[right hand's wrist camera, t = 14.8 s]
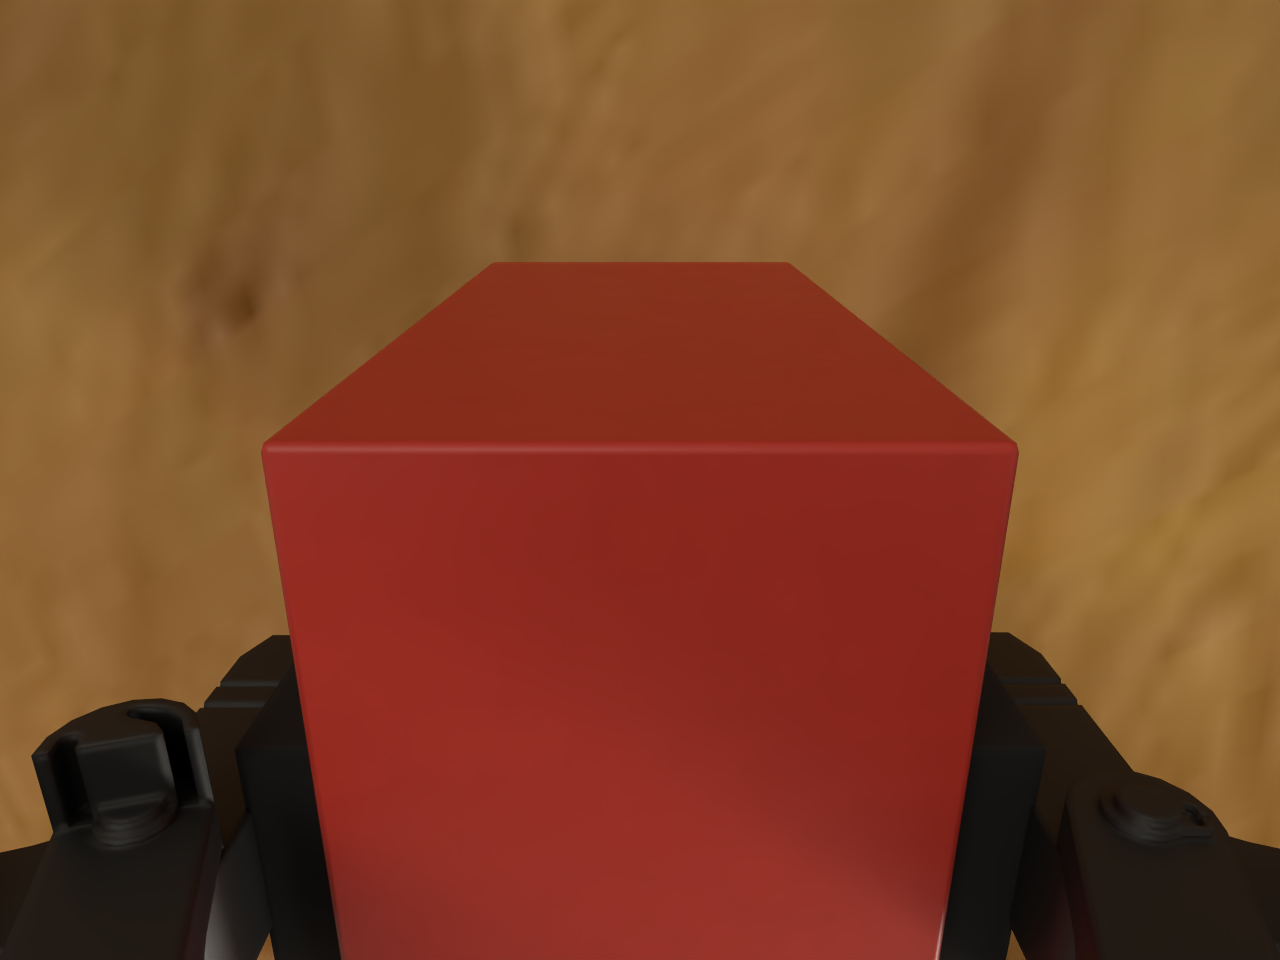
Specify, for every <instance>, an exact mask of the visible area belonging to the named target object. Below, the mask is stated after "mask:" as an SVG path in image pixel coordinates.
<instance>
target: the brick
mask: <svg viewBox="0 0 1280 960" xmlns="http://www.w3.org/2000/svg"><path fill="white" fill-rule="evenodd" d="M261 455H262V462H263V468H264V474H265V481H266V487H267V493H268V500H269V506H270V512H271V518H272V525H273V531H274V537H275V544H276V550H277V556H278V563H279V569H280V575H281V582H282V588H283V594H284V601H285V607H286V613H287V620H288V626H289V632H290V639H291V645H292V651H293V658H294V664H295V670H296V677H297V683H298V689H299V696H300V702H301V708H302V715H303V721H304V727H305V734H306V740H307V746H308V752H309V759H310V765H311V771H312V778H313V784H314V790H315V797H316V803H317V809H318V816H319V822H320V828H321V835H322V841H323V847H324V854H325V860H326V866H327V873H328V879H329V885H330V892H331V898H332V904H333V911H334V917H335V923H336V930H337V936H338V942H339V949H340V955H341V960H939V957H940V950H941V944H942V938H943V931H944V925H945V919H946V912H947V906H948V900H949V893H950V887H951V881H952V874H953V868H954V862H955V855H956V849H957V843H958V836H959V830H960V823H961V817H962V811H963V804H964V798H965V792H966V785H967V779H968V773H969V766H970V760H971V754H972V747H973V741H974V735H975V728H976V722H977V715H978V709H979V703H980V696H981V690H982V684H983V677H984V671H985V665H986V658H987V652H988V646H989V639H990V633H991V627H992V620H993V614H994V608H995V601H996V595H997V588H998V582H999V576H1000V569H1001V563H1002V557H1003V550H1004V544H1005V538H1006V531H1007V525H1008V519H1009V512H1010V506H1011V500H1012V493H1013V487H1014V480H1015V474H1016V468H1017V461H1018V455H1019V451H1018V447H1017V444H1016V443H1015V442H1014V441H1013V440H1012V439H1010V438H1009V437H1008V436H1007V435H1005V434H1004V433H1003V432H1002V431H1000V430H999V429H998V428H996V427H995V426H994V425H993V424H991V423H990V422H989V421H988V420H986V419H985V418H984V417H983V416H981V415H980V414H979V413H978V412H976V411H975V410H974V409H973V408H971V407H970V406H969V405H967V404H966V403H965V402H964V401H962V400H961V399H960V398H959V397H957V396H956V395H955V394H954V393H952V392H951V391H950V390H949V389H947V388H946V387H945V386H944V385H942V384H941V383H940V382H939V381H937V380H936V379H935V378H933V377H932V376H931V375H930V374H928V373H927V372H926V371H925V370H923V369H922V368H921V367H920V366H918V365H917V364H916V363H915V362H913V361H912V360H911V359H910V358H908V357H907V356H906V355H904V354H903V353H902V352H901V351H899V350H898V349H897V348H896V347H894V346H893V345H892V344H891V343H889V342H888V341H887V340H886V339H884V338H883V337H882V336H881V335H879V334H878V333H877V332H875V331H874V330H873V329H872V328H870V327H869V326H868V325H867V324H865V323H864V322H863V321H862V320H860V319H859V318H858V317H857V316H855V315H854V314H853V313H852V312H850V311H849V310H848V309H847V308H845V307H844V306H843V305H841V304H840V303H839V302H838V301H836V300H835V299H834V298H833V297H831V296H830V295H829V294H828V293H826V292H825V291H824V290H823V289H821V288H820V287H819V286H818V285H816V284H815V283H814V282H812V281H811V280H810V279H809V278H807V277H806V276H805V275H804V274H802V273H801V272H800V271H799V270H797V269H796V268H795V267H794V266H792V265H791V264H789V263H787V262H495V263H492V264H491V265H489V266H488V267H487V268H485V269H484V270H483V271H482V272H480V273H479V274H478V275H477V276H475V277H474V278H473V279H471V280H470V281H469V282H468V283H466V284H465V285H464V286H463V287H461V288H460V289H459V290H457V291H456V292H455V293H454V294H452V295H451V296H450V297H449V298H447V299H446V300H445V301H444V302H442V303H441V304H440V305H438V306H437V307H436V308H435V309H433V310H432V311H431V312H430V313H428V314H427V315H426V316H424V317H423V318H422V319H421V320H419V321H418V322H417V323H416V324H414V325H413V326H412V327H410V328H409V329H408V330H407V331H405V332H404V333H403V334H402V335H400V336H399V337H398V338H397V339H395V340H394V341H393V342H391V343H390V344H389V345H388V346H386V347H385V348H384V349H383V350H381V351H380V352H379V353H377V354H376V355H375V356H374V357H372V358H371V359H370V360H369V361H367V362H366V363H365V364H364V365H362V366H361V367H360V368H358V369H357V370H356V371H355V372H353V373H352V374H351V375H350V376H348V377H347V378H346V379H344V380H343V381H342V382H341V383H339V384H338V385H337V386H336V387H334V388H333V389H332V390H330V391H329V392H328V393H327V394H325V395H324V396H323V397H322V398H320V399H319V400H318V401H317V402H315V403H314V404H313V405H311V406H310V407H309V408H308V409H306V410H305V411H304V412H303V413H301V414H300V415H299V416H297V417H296V418H295V419H294V420H292V421H291V422H290V423H289V424H287V425H286V426H285V427H283V428H282V429H281V430H280V431H278V432H277V433H276V434H275V435H273V436H272V437H271V438H270V439H268V440H267V441H266V442H264V443H263V447H262V451H261Z"/></svg>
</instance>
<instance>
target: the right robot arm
mask: <svg viewBox="0 0 1280 960" xmlns="http://www.w3.org/2000/svg"><path fill="white" fill-rule="evenodd" d="M220 683H221V684H220V687H216V688H215V690H214V691H213V692H212V693H211V695H210V696H209V697H208V698H207V700H206V701H205V702H204V708H200V709H199V710H198V711H197V713H196V712H195V711H193V710H192V709H191V708H190V707H188V706H187V705H186V704H184V703H182V702H177V701H172V700H167V699H162V698H159V699H141V700H131V701H127V702H123V703H119V704H114V705H110V706H106V707H102V708H100V709H97V710H95V711H93V712H90V713H88V714H86V715H83V716H81V717H79V718H76V719H74V720H72V721H70V722H69V723H67V724H66V725H64V726H63V727H61V728H60V729H58V730H57V731H55V732H54V733H52V734H51V735H49V736H48V737H47V738H46V739H45V740H44V741H43V742H42V744H41V745H40V746H39V747H38V748H37V750H36V751H35V752H34V753H33V754H32V755H31V757H32V760H33V764H34V767H35V771H36V774H37V777H38V781H39V784H40V788H41V791H42V795H43V798H44V801H45V805H46V808H47V812H48V815H49V819H50V822H51V825H52V829H53V834H52V837H51V839H50V841H47V842H44V843H40V844H37V845H33V846H29V847H24V848H20V849H15V850H10V851H6V852H1V853H0V960H257V958H258V956H259V953H260V951H261V949H262V947H263V945H264V943H265V941H266V939H267V936H268V934H269V932H270V937H271V942H272V947H273V953H274V958H275V960H341V955H340V949H339V942H338V936H337V930H336V923H335V917H334V911H333V904H332V898H331V892H330V885H329V879H328V873H327V866H326V860H325V854H324V847H323V841H322V835H321V828H320V822H319V816H318V809H317V803H316V797H315V790H314V784H313V778H312V771H311V765H310V759H309V752H308V746H307V740H306V734H305V727H304V721H303V715H302V708H301V702H300V696H299V689H298V683H297V677H296V670H295V664H294V658H293V651H292V645H291V639H290V635H272V636H271V637H269V638H268V639H266V640H265V641H263V642H262V643H260V644H259V645H257V646H256V647H254V648H253V649H251V650H250V651H248V652H247V653H245V654H244V655H242V656H240V657H239V659H238V660H237V661H236V663H235V664H234V665H233V666H232V668H231V669H230V670H229V672H228V673H227V674H226V675H225V677H224V678H223V679H222V681H221V682H220ZM1011 930H1012V931H1013V933H1014V935H1015V937H1016V939H1017V941H1018V943H1019V945H1020V948H1021V950H1022V952H1023V954H1024V956H1025V958H1026V960H1280V849H1279V848H1274V847H1269V846H1265V845H1260V844H1255V843H1251V842H1247V841H1243V840H1240V839H1236V838H1233V837H1229V835H1228V833H1227V831H1226V829H1225V828H1224V827H1223V825H1222V824H1221V822H1220V821H1219V820H1218V818H1217V817H1216V815H1215V814H1214V813H1213V811H1212V810H1210V809H1209V808H1208V807H1207V806H1205V805H1204V804H1203V803H1201V802H1200V801H1199V800H1197V799H1196V798H1195V797H1194V796H1192V795H1191V794H1190V793H1188V792H1186V791H1184V790H1182V789H1180V788H1178V787H1176V786H1174V785H1172V784H1170V783H1168V782H1166V781H1164V780H1162V779H1159V778H1155V777H1152V776H1148V775H1145V774H1141V773H1137V772H1134V771H1133V770H1132V769H1131V768H1130V766H1129V765H1128V764H1127V762H1126V761H1125V760H1124V759H1123V757H1122V756H1121V755H1120V754H1119V752H1118V751H1117V750H1116V748H1115V747H1114V746H1113V745H1112V743H1111V742H1110V741H1109V740H1108V738H1107V737H1106V736H1105V734H1104V733H1103V732H1102V731H1101V729H1100V728H1099V727H1098V726H1097V724H1096V723H1095V722H1094V720H1093V719H1092V718H1091V717H1090V715H1089V714H1088V713H1087V712H1086V710H1085V709H1084V708H1083V706H1082V705H1078V704H1077V699H1076V698H1075V696H1074V695H1073V694H1072V692H1071V691H1070V690H1069V689H1068V687H1067V686H1066V685H1065V684H1061V678H1060V677H1059V676H1058V675H1057V673H1056V672H1055V671H1054V670H1053V668H1052V667H1051V666H1050V664H1049V663H1048V662H1047V661H1046V659H1045V658H1044V657H1043V656H1042V654H1041V653H1039V652H1038V651H1036V650H1034V649H1033V648H1031V647H1030V646H1028V645H1027V644H1025V643H1024V642H1022V641H1021V640H1019V639H1018V638H1016V637H1015V636H1013V635H1011V634H1010V633H1008V632H991V633H990V639H989V646H988V652H987V658H986V665H985V671H984V677H983V684H982V690H981V696H980V703H979V709H978V715H977V722H976V728H975V735H974V741H973V747H972V754H971V760H970V766H969V773H968V779H967V785H966V792H965V798H964V804H963V811H962V817H961V823H960V830H959V836H958V843H957V849H956V855H955V862H954V868H953V874H952V881H951V887H950V893H949V900H948V906H947V912H946V919H945V925H944V931H943V938H942V944H941V950H940V957H939V960H1006V956H1007V951H1008V946H1009V941H1010V935H1011Z"/></svg>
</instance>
